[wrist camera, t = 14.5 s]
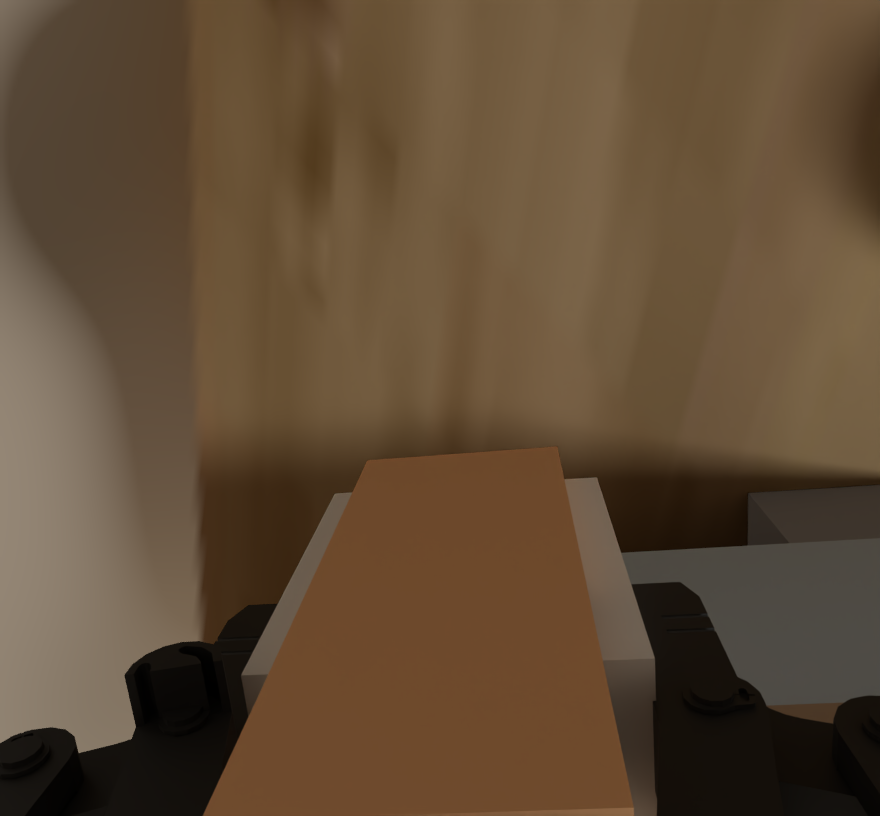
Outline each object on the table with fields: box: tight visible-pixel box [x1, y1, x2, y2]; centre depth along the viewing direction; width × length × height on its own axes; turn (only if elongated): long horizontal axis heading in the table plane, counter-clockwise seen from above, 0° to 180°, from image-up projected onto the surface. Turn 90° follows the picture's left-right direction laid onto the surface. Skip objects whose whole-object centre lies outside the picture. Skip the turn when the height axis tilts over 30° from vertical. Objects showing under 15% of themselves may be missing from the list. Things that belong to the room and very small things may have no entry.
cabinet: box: [621, 485, 880, 724], centre depth 28 cm, size 14×18×16 cm
